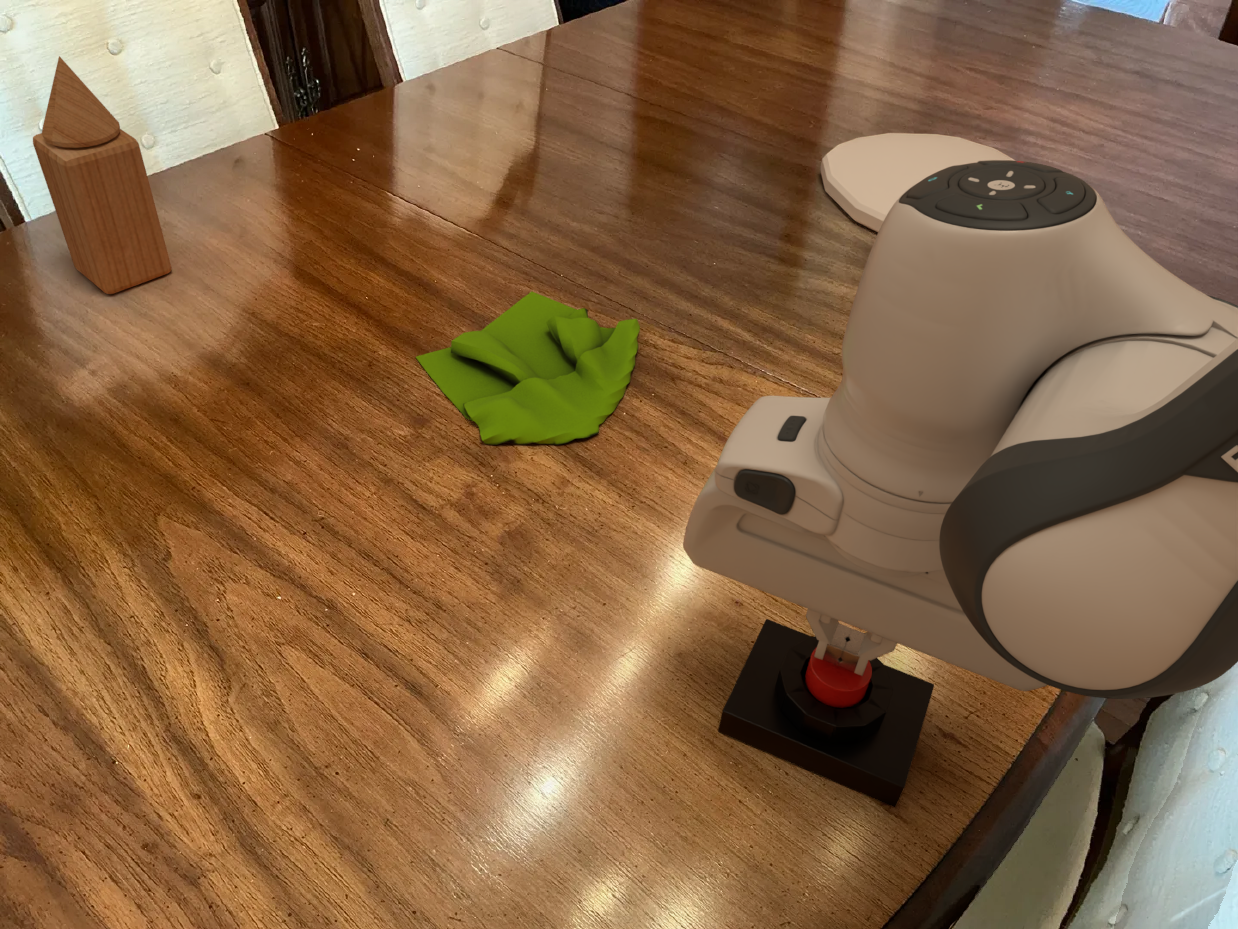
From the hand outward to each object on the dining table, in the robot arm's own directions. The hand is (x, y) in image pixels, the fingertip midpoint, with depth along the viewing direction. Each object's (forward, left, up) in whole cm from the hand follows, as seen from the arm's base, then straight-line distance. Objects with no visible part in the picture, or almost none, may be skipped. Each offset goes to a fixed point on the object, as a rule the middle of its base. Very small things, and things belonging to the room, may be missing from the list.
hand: (841, 658), depth 59 cm
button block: (0, 0, -6) cm, 6 cm away
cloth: (+32, -24, -6) cm, 41 cm away
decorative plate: (+9, -75, -6) cm, 76 cm away
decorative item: (+73, -17, -6) cm, 76 cm away
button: (0, 0, -2) cm, 2 cm away
